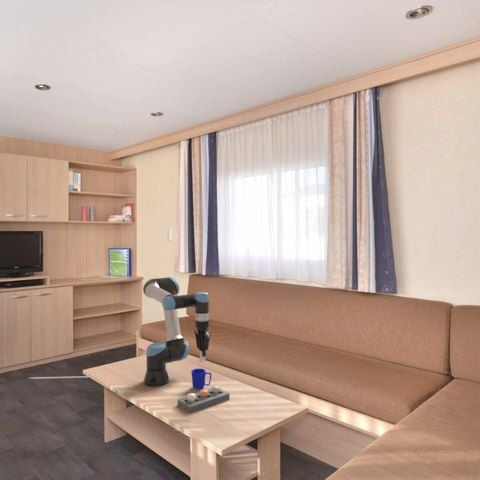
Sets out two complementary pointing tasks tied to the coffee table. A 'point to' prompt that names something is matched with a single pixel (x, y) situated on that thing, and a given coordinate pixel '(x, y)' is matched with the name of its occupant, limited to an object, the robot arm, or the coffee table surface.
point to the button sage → (215, 389)
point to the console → (203, 401)
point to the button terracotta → (203, 393)
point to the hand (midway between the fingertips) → (202, 361)
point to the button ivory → (191, 397)
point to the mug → (199, 378)
